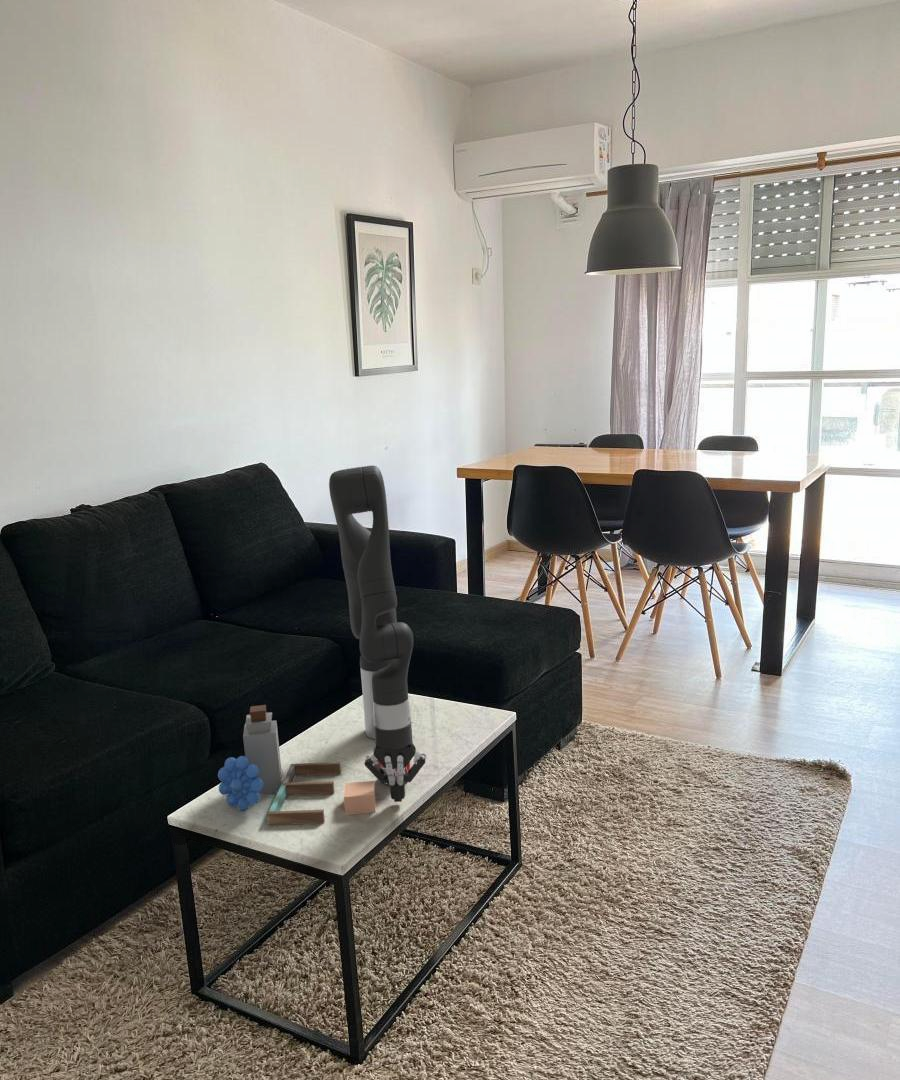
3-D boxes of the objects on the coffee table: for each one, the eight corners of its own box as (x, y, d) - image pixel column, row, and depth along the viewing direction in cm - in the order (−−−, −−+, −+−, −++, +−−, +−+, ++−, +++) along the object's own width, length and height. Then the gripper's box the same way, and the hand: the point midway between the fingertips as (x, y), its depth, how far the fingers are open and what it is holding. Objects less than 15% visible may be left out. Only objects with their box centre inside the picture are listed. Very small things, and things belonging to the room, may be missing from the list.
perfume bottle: (281, 791, 192) (273, 712, 188) (249, 795, 191) (240, 716, 187) (282, 777, 198) (274, 700, 194) (251, 781, 197) (242, 704, 193)
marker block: (346, 800, 186) (345, 783, 186) (375, 798, 187) (374, 780, 186) (345, 815, 181) (343, 797, 180) (375, 812, 181) (373, 794, 180)
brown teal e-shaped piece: (292, 773, 200) (291, 763, 199) (341, 772, 199) (340, 762, 199) (268, 824, 178) (267, 813, 178) (323, 823, 178) (322, 812, 177)
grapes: (278, 805, 186) (273, 751, 183) (257, 820, 180) (251, 765, 178) (235, 794, 191) (229, 742, 189) (213, 809, 186) (207, 755, 183)
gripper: (426, 711, 183) (431, 790, 186) (362, 714, 183) (368, 792, 187) (424, 726, 175) (429, 808, 179) (356, 729, 176) (363, 810, 180)
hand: (398, 799), depth 183 cm, fingers closed
